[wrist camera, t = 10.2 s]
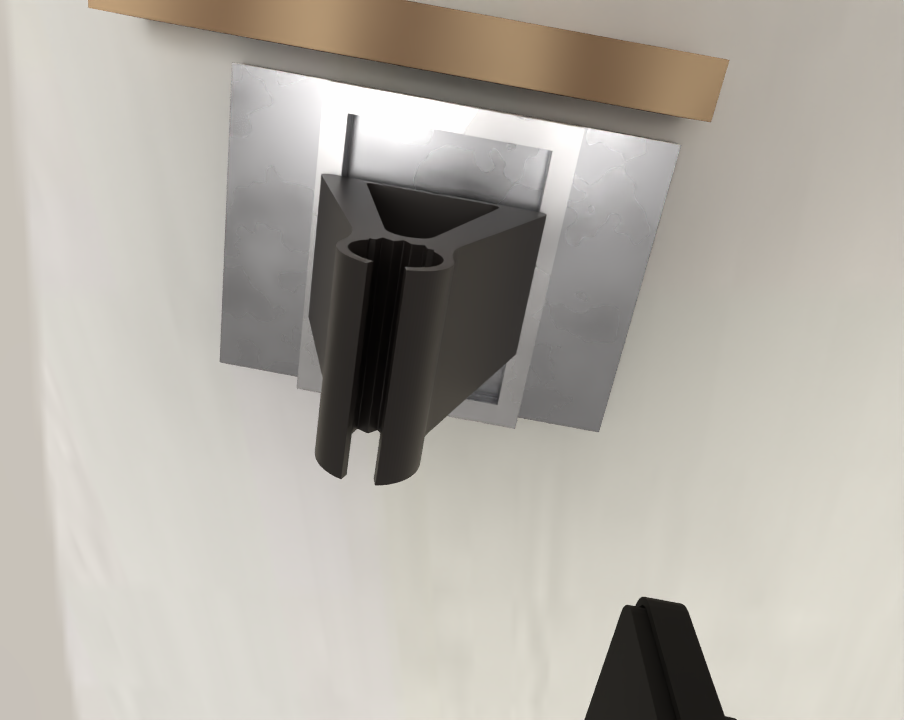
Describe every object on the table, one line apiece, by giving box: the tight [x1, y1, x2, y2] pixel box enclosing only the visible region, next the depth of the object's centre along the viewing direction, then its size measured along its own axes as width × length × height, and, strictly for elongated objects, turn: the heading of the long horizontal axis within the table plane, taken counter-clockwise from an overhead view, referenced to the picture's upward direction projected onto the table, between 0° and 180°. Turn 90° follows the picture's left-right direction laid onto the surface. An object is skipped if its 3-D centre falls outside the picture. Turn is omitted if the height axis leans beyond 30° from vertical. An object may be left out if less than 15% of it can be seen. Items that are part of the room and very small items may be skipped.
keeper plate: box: [220, 63, 681, 432], centre depth 29 cm, size 18×13×2 cm
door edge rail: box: [88, 0, 729, 122], centre depth 25 cm, size 22×2×4 cm, turn 80°
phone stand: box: [308, 174, 547, 485], centre depth 22 cm, size 9×6×12 cm, turn 80°
